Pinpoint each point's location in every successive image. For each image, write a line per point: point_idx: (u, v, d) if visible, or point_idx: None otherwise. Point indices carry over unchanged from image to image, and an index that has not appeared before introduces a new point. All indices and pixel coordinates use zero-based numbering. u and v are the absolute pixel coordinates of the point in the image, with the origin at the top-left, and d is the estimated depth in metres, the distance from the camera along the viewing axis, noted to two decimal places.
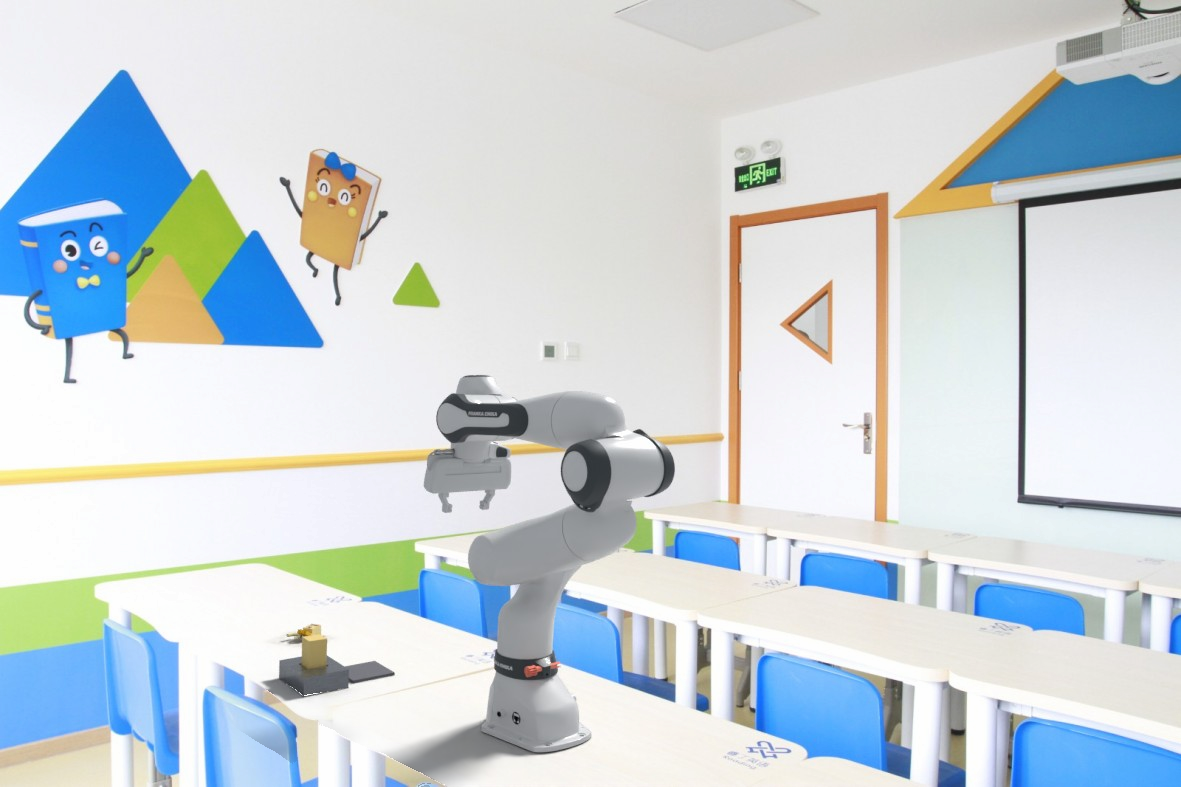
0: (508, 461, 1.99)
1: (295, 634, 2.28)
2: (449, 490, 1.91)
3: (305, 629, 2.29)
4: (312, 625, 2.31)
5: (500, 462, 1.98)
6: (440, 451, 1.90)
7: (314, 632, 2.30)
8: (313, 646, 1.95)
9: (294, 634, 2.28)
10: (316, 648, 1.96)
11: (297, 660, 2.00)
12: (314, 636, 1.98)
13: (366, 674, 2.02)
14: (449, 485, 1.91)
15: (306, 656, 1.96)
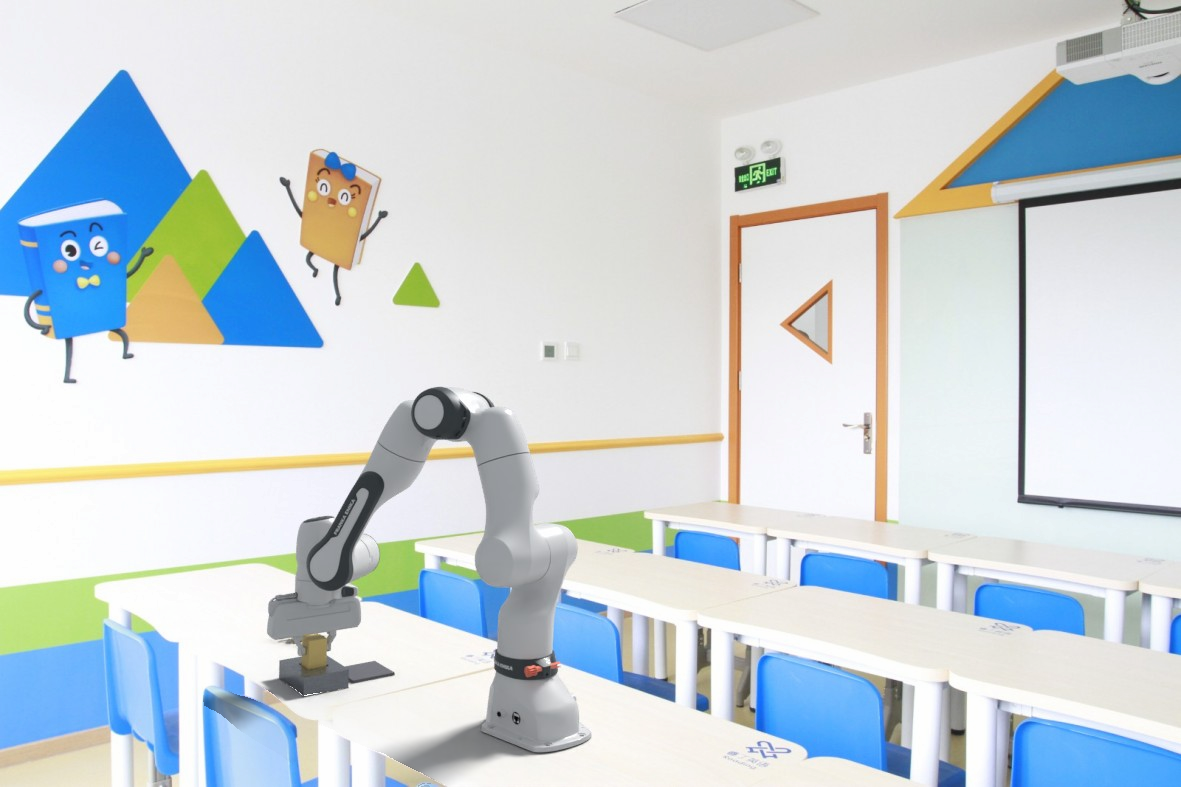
0: (356, 599, 2.01)
1: None
2: (293, 635, 1.92)
3: None
4: None
5: (347, 602, 1.99)
6: (281, 596, 1.92)
7: None
8: (313, 646, 1.95)
9: None
10: (316, 648, 1.96)
11: (297, 660, 2.00)
12: (314, 636, 1.98)
13: (366, 674, 2.02)
14: (293, 629, 1.92)
15: (306, 656, 1.96)
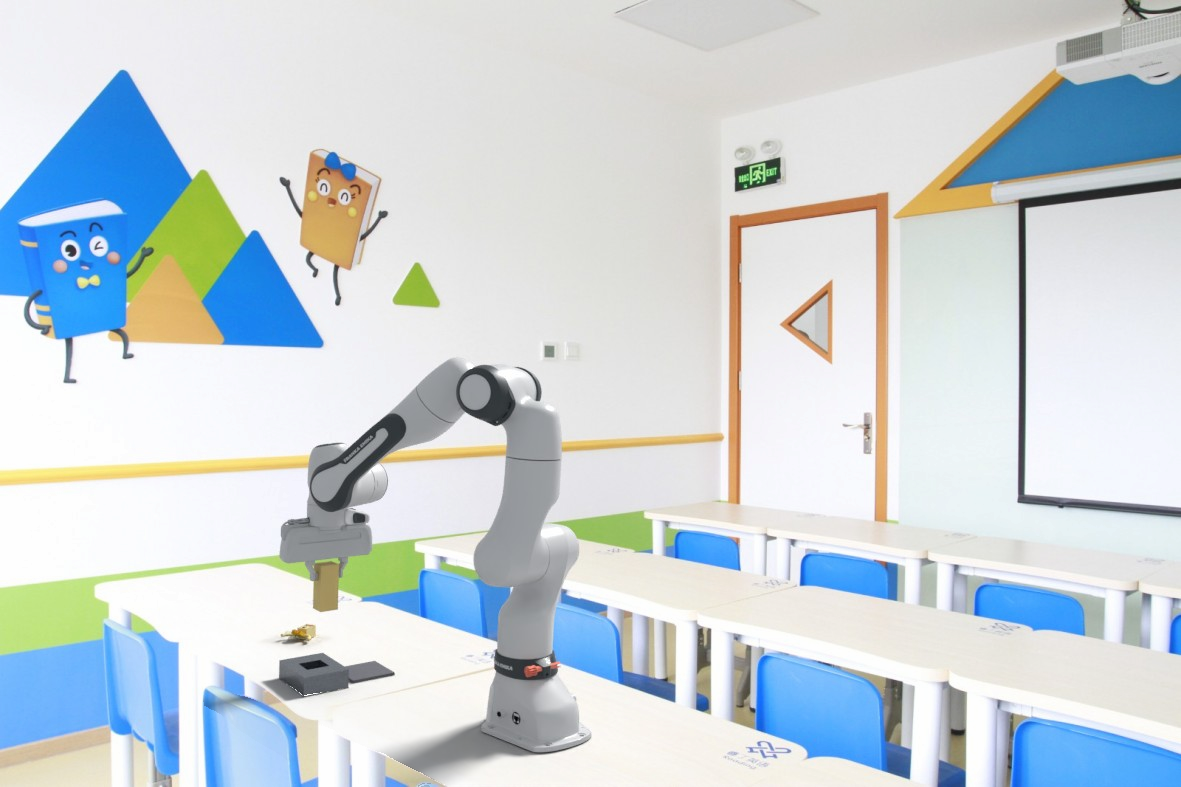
0: (367, 526, 2.02)
1: (289, 634, 2.28)
2: (305, 559, 1.93)
3: (299, 629, 2.29)
4: (307, 625, 2.31)
5: (358, 528, 2.00)
6: (294, 521, 1.93)
7: (308, 632, 2.29)
8: (326, 571, 1.96)
9: (288, 634, 2.28)
10: (328, 573, 1.97)
11: (297, 660, 2.00)
12: (326, 562, 1.99)
13: (366, 674, 2.02)
14: (305, 553, 1.93)
15: (318, 581, 1.97)
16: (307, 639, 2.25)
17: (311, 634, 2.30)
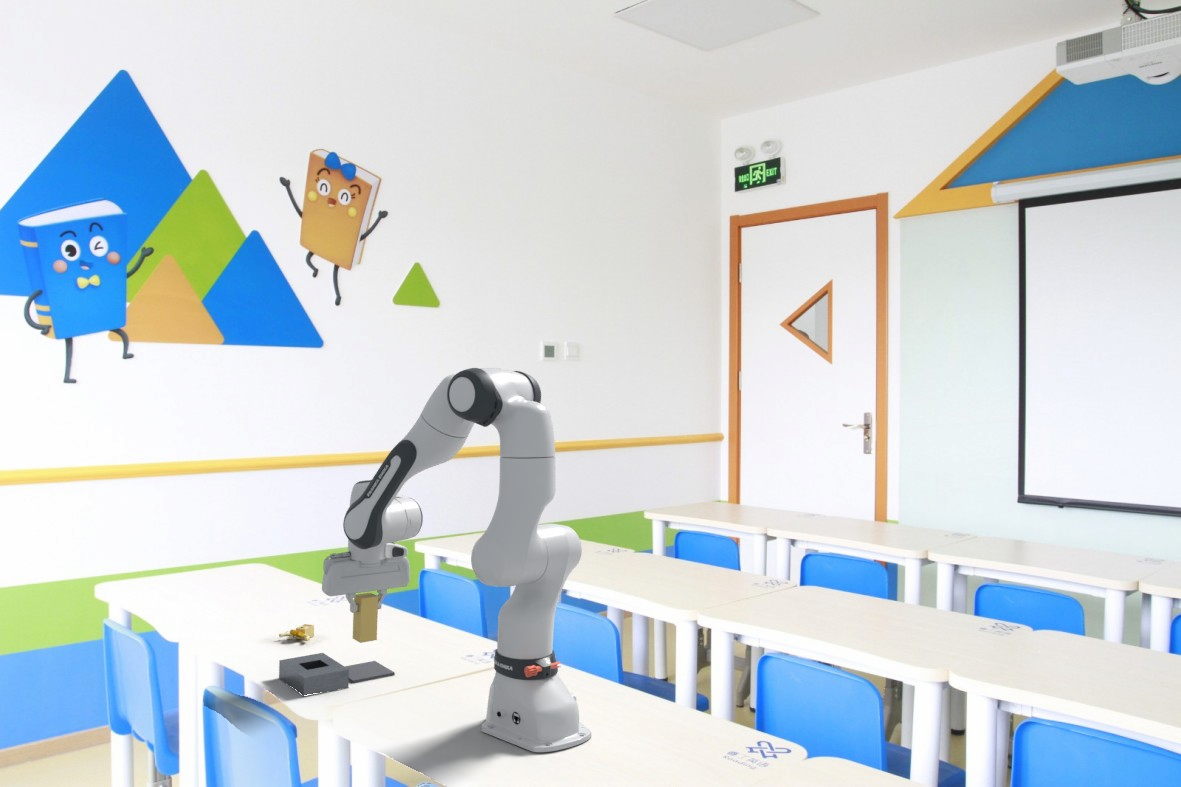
0: (406, 560, 2.08)
1: (288, 634, 2.28)
2: (346, 592, 2.00)
3: (298, 629, 2.29)
4: (305, 625, 2.31)
5: (397, 561, 2.07)
6: (336, 555, 1.99)
7: (307, 632, 2.29)
8: (365, 603, 2.03)
9: (287, 634, 2.28)
10: (368, 605, 2.03)
11: (297, 660, 2.00)
12: (365, 594, 2.06)
13: (366, 674, 2.02)
14: (347, 586, 2.00)
15: (358, 612, 2.03)
16: (305, 639, 2.25)
17: (309, 634, 2.30)
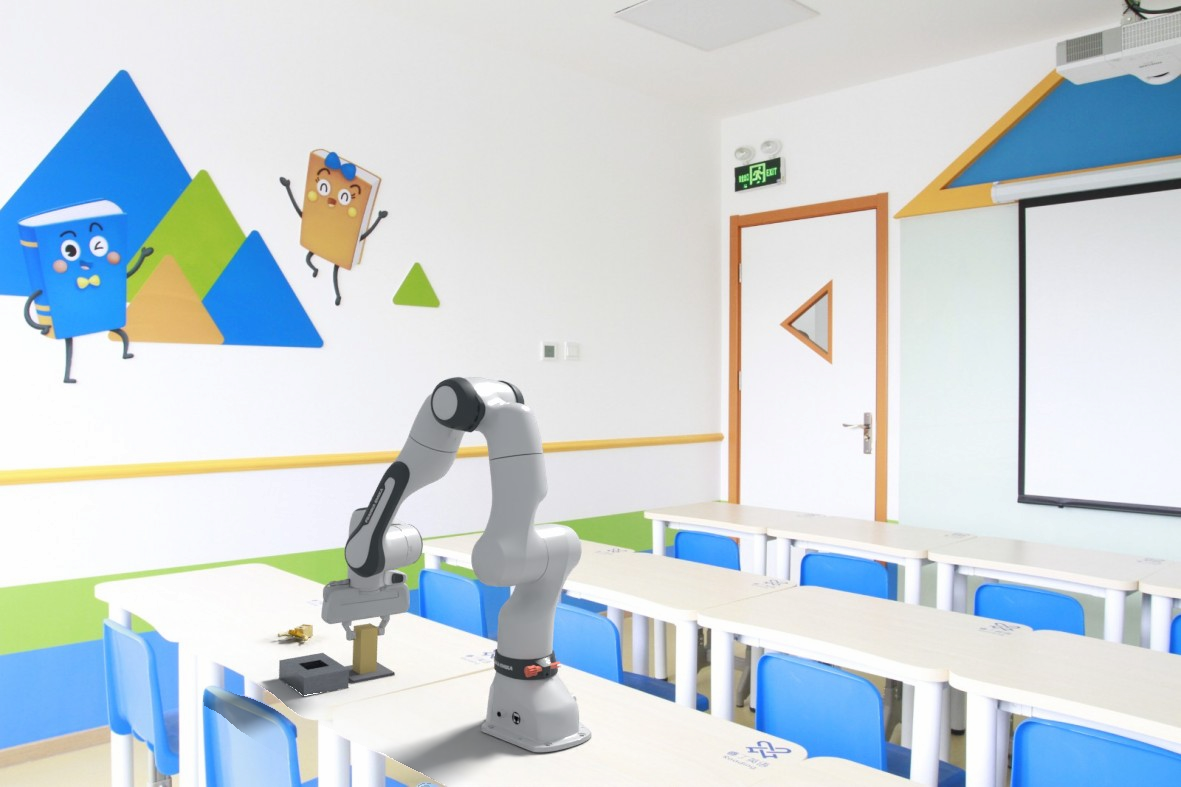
0: (405, 586, 2.08)
1: (286, 634, 2.28)
2: (346, 619, 2.00)
3: (296, 629, 2.29)
4: (304, 625, 2.31)
5: (396, 588, 2.07)
6: (335, 582, 1.99)
7: (305, 632, 2.29)
8: (365, 635, 2.03)
9: (285, 634, 2.28)
10: (368, 636, 2.03)
11: (297, 660, 2.00)
12: (365, 625, 2.06)
13: (366, 674, 2.02)
14: (346, 614, 2.00)
15: (358, 644, 2.03)
16: (304, 639, 2.25)
17: (308, 634, 2.30)
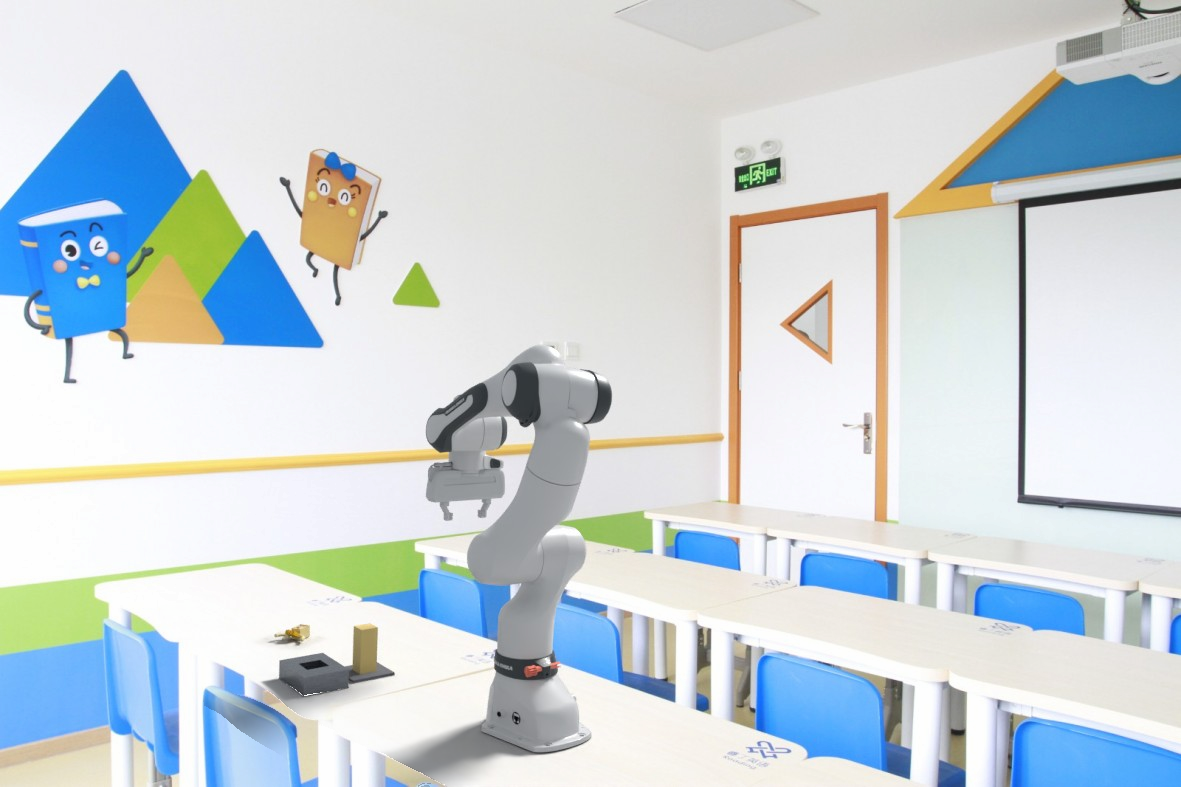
0: (501, 472, 2.19)
1: (283, 634, 2.28)
2: (449, 499, 2.11)
3: (293, 629, 2.29)
4: (301, 625, 2.31)
5: (494, 473, 2.18)
6: (439, 464, 2.11)
7: (302, 632, 2.29)
8: (365, 635, 2.03)
9: (282, 634, 2.28)
10: (368, 636, 2.03)
11: (297, 660, 2.00)
12: (365, 625, 2.06)
13: (366, 674, 2.02)
14: (449, 494, 2.11)
15: (358, 644, 2.03)
16: (300, 639, 2.25)
17: (305, 634, 2.30)
